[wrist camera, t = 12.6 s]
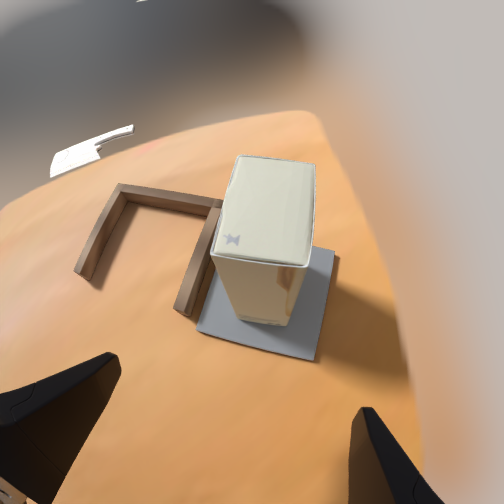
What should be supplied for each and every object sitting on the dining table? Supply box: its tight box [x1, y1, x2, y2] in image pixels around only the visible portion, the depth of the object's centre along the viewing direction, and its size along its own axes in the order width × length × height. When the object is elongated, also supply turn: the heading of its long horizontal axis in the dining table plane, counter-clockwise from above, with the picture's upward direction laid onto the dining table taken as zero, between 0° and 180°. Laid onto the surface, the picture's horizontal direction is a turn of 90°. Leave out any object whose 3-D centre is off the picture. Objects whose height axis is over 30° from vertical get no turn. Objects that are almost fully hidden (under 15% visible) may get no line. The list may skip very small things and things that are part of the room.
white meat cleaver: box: [50, 125, 135, 178], centre depth 34 cm, size 5×15×1 cm, turn 100°
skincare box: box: [210, 155, 316, 326], centre depth 18 cm, size 6×4×12 cm
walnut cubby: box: [74, 183, 224, 317], centre depth 26 cm, size 11×13×2 cm
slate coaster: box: [196, 246, 335, 361], centre depth 24 cm, size 10×10×1 cm
